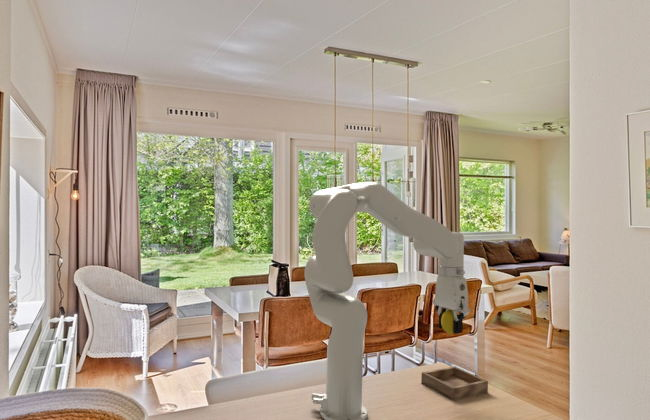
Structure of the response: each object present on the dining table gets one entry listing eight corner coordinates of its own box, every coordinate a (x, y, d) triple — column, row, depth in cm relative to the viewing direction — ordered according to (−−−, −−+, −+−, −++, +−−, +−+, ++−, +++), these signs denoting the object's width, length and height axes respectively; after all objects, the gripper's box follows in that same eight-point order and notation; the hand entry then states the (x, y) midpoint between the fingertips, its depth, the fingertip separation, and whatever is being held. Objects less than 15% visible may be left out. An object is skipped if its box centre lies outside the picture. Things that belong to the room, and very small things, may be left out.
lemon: (460, 337, 134) (460, 311, 134) (441, 336, 135) (441, 310, 135) (458, 332, 140) (458, 307, 140) (440, 331, 141) (440, 306, 141)
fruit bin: (452, 400, 129) (453, 388, 129) (421, 383, 141) (421, 372, 141) (487, 392, 136) (487, 381, 136) (454, 376, 148) (454, 366, 148)
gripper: (481, 275, 131) (480, 336, 132) (440, 267, 147) (440, 322, 147) (462, 276, 128) (461, 339, 128) (422, 269, 143) (422, 325, 143)
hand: (450, 329), depth 138 cm, fingers closed on lemon, 5 cm apart
